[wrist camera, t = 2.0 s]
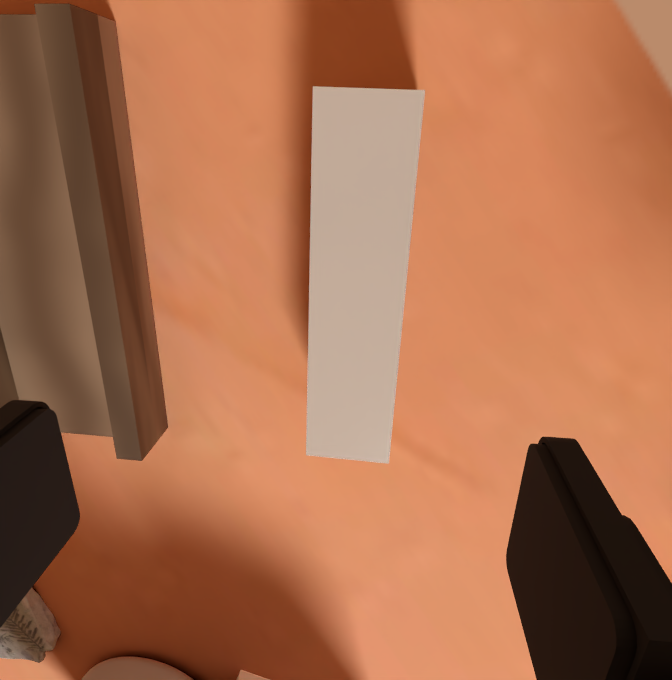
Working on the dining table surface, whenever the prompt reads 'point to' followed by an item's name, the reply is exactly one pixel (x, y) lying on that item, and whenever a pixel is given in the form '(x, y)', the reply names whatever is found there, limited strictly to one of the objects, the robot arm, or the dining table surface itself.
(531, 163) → the dining table surface
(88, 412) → the brown long channel piece
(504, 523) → the dining table surface
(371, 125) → the beige rectangular block
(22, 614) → the fossil rock
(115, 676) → the cylinder vase
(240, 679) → the milk
